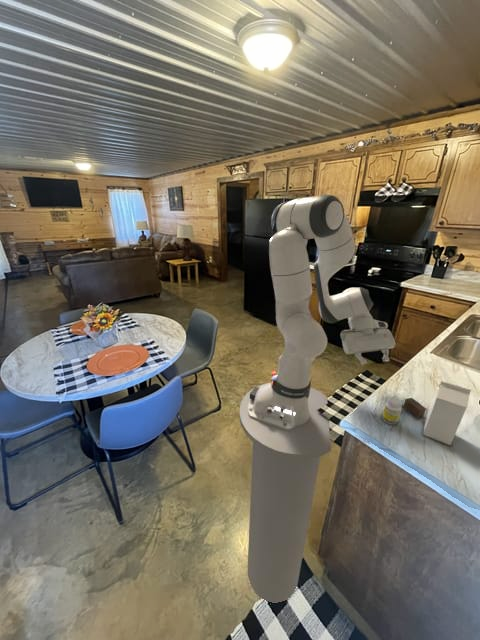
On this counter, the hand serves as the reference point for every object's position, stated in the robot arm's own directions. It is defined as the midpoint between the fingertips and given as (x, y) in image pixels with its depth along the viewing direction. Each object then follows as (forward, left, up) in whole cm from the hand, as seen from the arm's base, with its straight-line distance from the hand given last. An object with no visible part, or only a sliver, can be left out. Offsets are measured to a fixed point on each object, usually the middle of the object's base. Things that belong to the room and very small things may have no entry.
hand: (375, 362), depth 96 cm
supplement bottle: (+5, -10, -16) cm, 20 cm away
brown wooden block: (+15, -4, -16) cm, 22 cm away
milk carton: (+19, -13, -16) cm, 28 cm away
